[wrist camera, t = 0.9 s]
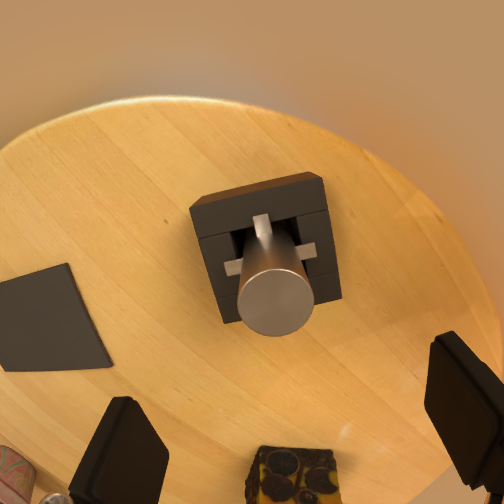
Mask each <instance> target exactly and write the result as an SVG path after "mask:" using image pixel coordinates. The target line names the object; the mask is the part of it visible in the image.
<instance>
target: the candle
mask: <svg viewBox="0 0 504 504" xmlns="http://www.w3.org/2000/svg"><path fill="white" fill-rule="evenodd" d="M245 485H246V488H245V498H246V504H343V503H342V501H341V494H340V492H339V483H338V477H337V469H336V460H335V459H334V457H333V452H332V451H331V450H319V449H318V450H308V449H294V448H283V447H282V448H276V447H269V446H261V447H260V448H259V449H258V452H257V454H256V455H255V459H254V461H253V465H252V467H251V468H250V473H249V475H248V478H247V479H246V480H245Z"/></svg>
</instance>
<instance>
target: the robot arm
mask: <svg viewBox="0 0 504 504" xmlns="http://www.w3.org/2000/svg"><path fill="white" fill-rule="evenodd" d="M424 406H425V410H426V412H427V414H428V416H429V418H430V419H431V421H432V423H433V425H434V427H435V429H436V431H437V432H438V434H439V436H440V438H441V440H442V442H443V444H444V446H445V448H446V450H447V452H448V454H449V456H450V457H451V459H452V461H453V463H454V465H455V467H456V469H457V471H458V473H459V476H460V477H461V479H462V482H463V483H464V484H465V485H470V487H471V489H472V490H475V489H476V488H478V487H480V486H482V485H484V486H485V488H486V490H487V492H488V494H487V497H486V500H485V503H484V504H504V384H503V383H502V382H501V381H500V379H499V378H498V377H497V376H496V375H495V374H494V372H493V371H492V370H491V369H490V368H489V367H488V366H487V365H486V364H485V363H484V362H482V361H481V360H480V359H479V358H478V357H477V356H476V355H475V354H474V353H473V351H472V350H471V349H470V348H469V347H468V346H467V345H466V344H465V343H464V342H463V340H462V339H461V338H460V337H459V336H458V335H457V334H456V333H455V332H454V331H449V332H446V333H443V334H441V335H438V336H436V337H435V340H434V342H432V343H431V345H430V355H429V366H428V376H427V384H426V392H425V399H424ZM168 461H169V452H168V449H167V448H166V446H165V445H164V443H163V442H162V440H161V439H160V437H159V436H158V434H157V433H156V431H155V429H154V428H153V426H152V425H151V423H150V421H149V420H148V418H147V417H146V415H145V413H144V412H143V410H142V408H141V407H140V405H139V403H138V402H137V401H136V400H133V398H131V397H129V396H124V397H114V398H112V400H111V402H110V404H109V406H108V407H107V409H106V411H105V413H104V415H103V417H102V419H101V421H100V423H99V425H98V427H97V429H96V431H95V433H94V435H93V437H92V439H91V441H90V443H89V445H88V447H87V449H86V452H85V454H84V456H83V458H82V460H81V462H80V464H79V466H78V468H77V470H76V473H75V475H74V477H73V479H72V481H71V483H70V485H69V488H68V490H69V491H70V494H69V495H67V494H66V493H64V492H52V493H49V494H48V495H46V496H45V497H44V498H43V499H42V500H41V501H40V503H39V504H158V501H159V497H160V493H161V489H162V485H163V481H164V477H165V473H166V469H167V465H168Z"/></svg>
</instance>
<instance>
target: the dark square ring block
mask: <svg viewBox="0 0 504 504" xmlns="http://www.w3.org/2000/svg"><path fill="white" fill-rule="evenodd" d="M189 210H190V214H191V218H192V221H193V225H194V228H195V231H196V235H197V238H198V242H199V245H200V249H201V252H202V255H203V259H204V262H205V265H206V269H207V272H208V275H209V279H210V282H211V285H212V288H213V291H214V295H215V297H216V301H217V304H218V307H219V310H220V313H221V316H222V319H223V323H224V324H227V323H232V322H237V321H242V319H241V317H240V314H239V312H238V307H237V300H238V291H239V283H240V274H236V275H232V276H227V273H226V270H225V266H224V261H227V260H232V259H236V258H241V257H243V248H242V244H241V240H240V236H239V232H238V230H239V229H244V228H248V227H252V226H254V223H253V219H252V216H254V215H258V214H263V213H268V216H269V220H270V222H274V221H279V220H283V219H288V218H292V223H293V228H294V232H295V237H296V242H297V245H299V244H304V243H308V242H312V241H314V242H315V247H316V253H317V257H313V258H309V259H304V260H301V262H302V265H303V267H304V270H305V272H306V275H307V278H308V280H309V283H310V286H311V288H312V291H313V295H314V305H317V304H322V303H326V302H330V301H334V300H338V299H342V293H341V286H340V279H339V272H338V264H337V258H336V251H335V245H334V239H333V233H332V227H331V221H330V216H329V211H328V205H327V200H326V195H325V190H324V185H323V180H322V177H320V176H318V175H315V174H313V173H311V172H305V173H300V174H295V175H290V176H286V177H281V178H277V179H272V180H268V181H263V182H259V183H255V184H250V185H246V186H242V187H238V188H234V189H230V190H225V191H221V192H217V193H214V194H210V195H206V196H202V197H201V198H200V199H199V200H197V201H196V202H195V203H194V204H193V205H192V206H191V207H190V208H189Z"/></svg>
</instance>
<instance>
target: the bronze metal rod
mask: <svg viewBox="0 0 504 504" xmlns="http://www.w3.org/2000/svg"><path fill="white" fill-rule="evenodd" d="M252 219H253V223H254V226H252V227H248V228H247V229H246V233H245V241H244V249H243V257H241V258H236V259H232V260H227V261H224V266H225V270H226V273H227V276H232V275H236V274H240V283H239V291H238V300H237V307H238V312H239V314H240V317H241V319H242V320H243V322H244V323H245V324H246V325H247V326H248V327H249V328H250V329H252V330H253V331H255V332H257V333H259V334H262V335H265V336H273V337H275V336H284V335H288V334H290V333H293V332H295V331H296V330H298V329H299V328H301V327H302V326H303V325H304V324H305V323H306V322H307V320H308V319H309V317H310V315H311V314H312V311H313V307H314V295H313V291H312V288H311V286H310V283H309V280H308V278H307V275H306V272H305V270H304V267H303V265H302V262H301V260H304V259H309V258H313V257H317V253H316V247H315V242H314V241H312V242H308V243H304V244H299V245H295V244H294V241H293V239H292V236H291V234H290V231H289V229H288V226H287V225H286V223H285V222H284V221H283V220H279V221H274V222H270V220H269V216H268V213H263V214H258V215H254V216H252Z"/></svg>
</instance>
